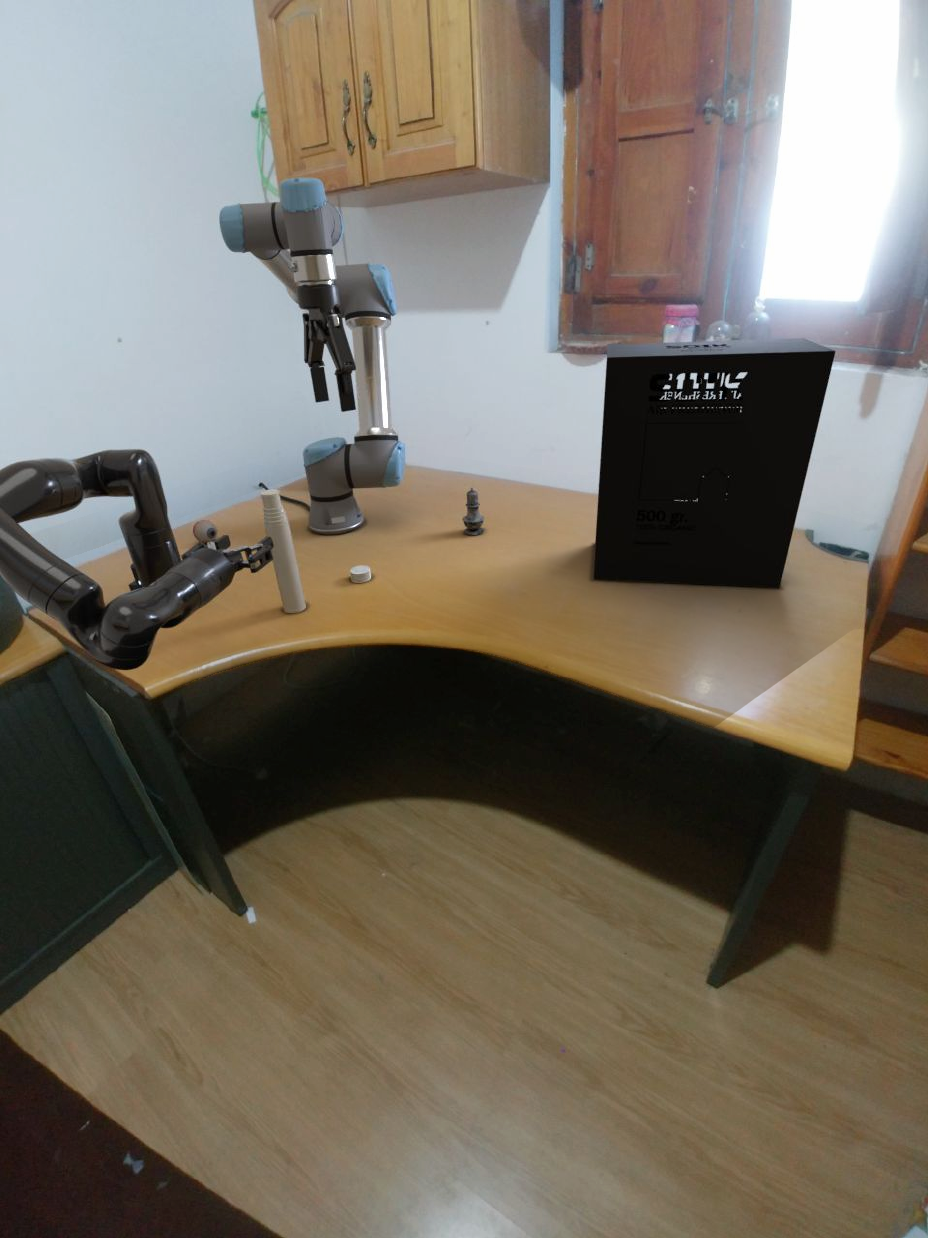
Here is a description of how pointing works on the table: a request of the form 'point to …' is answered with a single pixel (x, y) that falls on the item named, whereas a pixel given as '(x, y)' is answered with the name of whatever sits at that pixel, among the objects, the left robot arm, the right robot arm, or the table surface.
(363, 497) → the table surface
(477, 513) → the salt shaker
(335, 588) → the table surface
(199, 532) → the eyeball
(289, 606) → the bottle
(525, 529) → the table surface
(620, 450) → the cardboard box
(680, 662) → the table surface
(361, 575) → the cap
